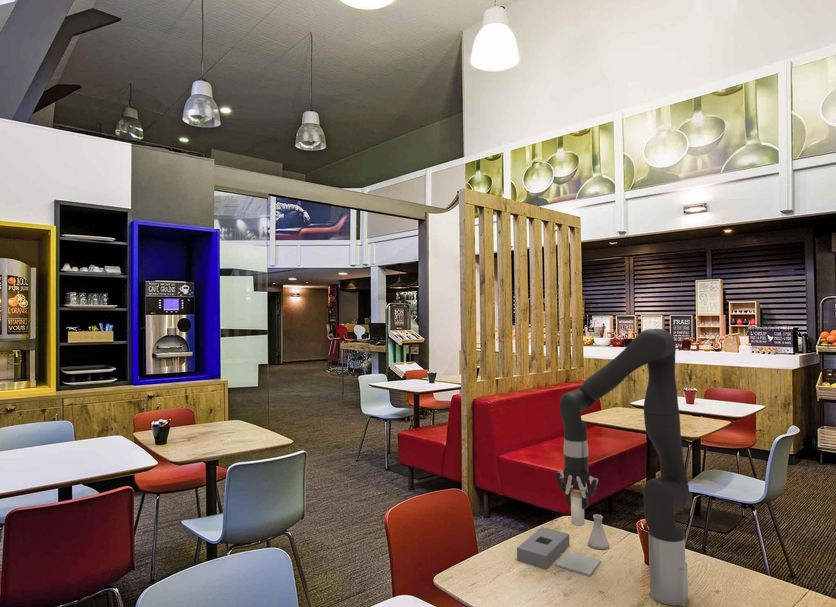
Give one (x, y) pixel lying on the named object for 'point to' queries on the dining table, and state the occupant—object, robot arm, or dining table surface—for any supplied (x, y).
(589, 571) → the mat
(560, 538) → the grey socket block
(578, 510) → the plug
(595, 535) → the flask
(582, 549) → the dining table surface
